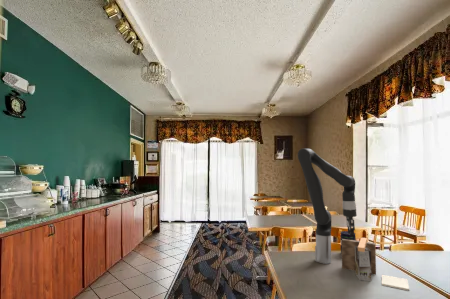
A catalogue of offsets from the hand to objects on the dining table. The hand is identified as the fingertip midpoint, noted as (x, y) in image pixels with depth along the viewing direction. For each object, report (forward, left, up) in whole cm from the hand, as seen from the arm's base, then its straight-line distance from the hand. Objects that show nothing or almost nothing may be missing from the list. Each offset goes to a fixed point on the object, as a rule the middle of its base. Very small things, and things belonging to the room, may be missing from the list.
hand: (351, 235), depth 165 cm
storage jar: (-5, +30, -20) cm, 37 cm away
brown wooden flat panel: (+4, -1, -20) cm, 20 cm away
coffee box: (+7, -11, -20) cm, 24 cm away
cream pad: (+22, -10, -20) cm, 31 cm away
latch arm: (+7, -11, -3) cm, 13 cm away
